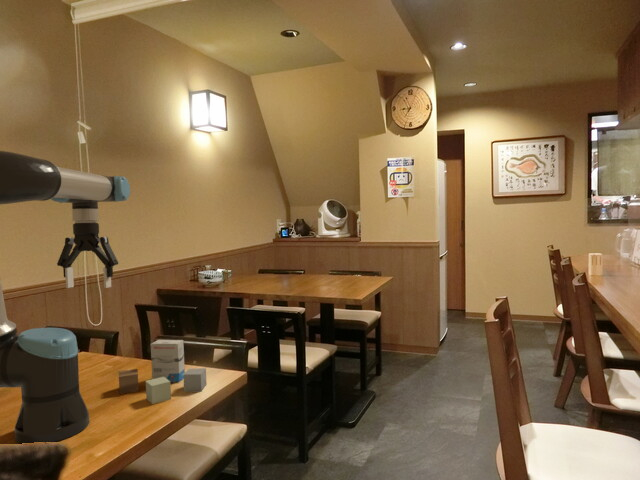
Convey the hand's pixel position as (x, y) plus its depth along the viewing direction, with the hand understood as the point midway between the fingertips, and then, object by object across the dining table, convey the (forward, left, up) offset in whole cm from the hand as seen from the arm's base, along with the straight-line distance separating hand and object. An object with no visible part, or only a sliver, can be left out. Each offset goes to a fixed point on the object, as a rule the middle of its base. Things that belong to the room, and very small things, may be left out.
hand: (88, 287), depth 149 cm
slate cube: (-24, -36, -27) cm, 51 cm away
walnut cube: (-21, -17, -27) cm, 39 cm away
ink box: (-15, -27, -27) cm, 41 cm away
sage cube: (-30, -27, -27) cm, 49 cm away
